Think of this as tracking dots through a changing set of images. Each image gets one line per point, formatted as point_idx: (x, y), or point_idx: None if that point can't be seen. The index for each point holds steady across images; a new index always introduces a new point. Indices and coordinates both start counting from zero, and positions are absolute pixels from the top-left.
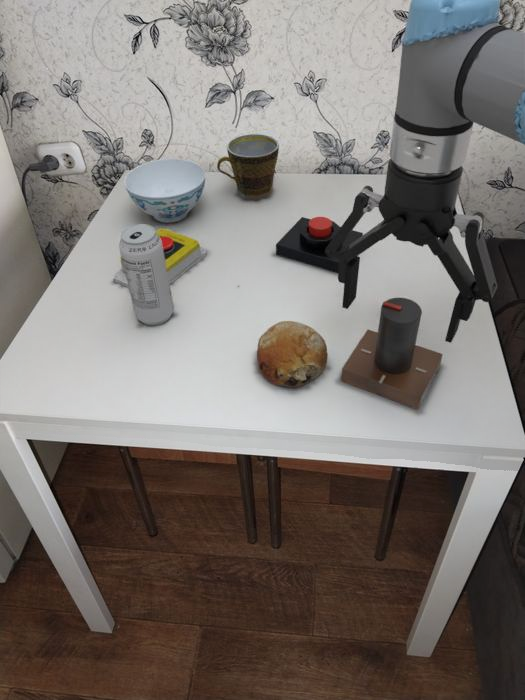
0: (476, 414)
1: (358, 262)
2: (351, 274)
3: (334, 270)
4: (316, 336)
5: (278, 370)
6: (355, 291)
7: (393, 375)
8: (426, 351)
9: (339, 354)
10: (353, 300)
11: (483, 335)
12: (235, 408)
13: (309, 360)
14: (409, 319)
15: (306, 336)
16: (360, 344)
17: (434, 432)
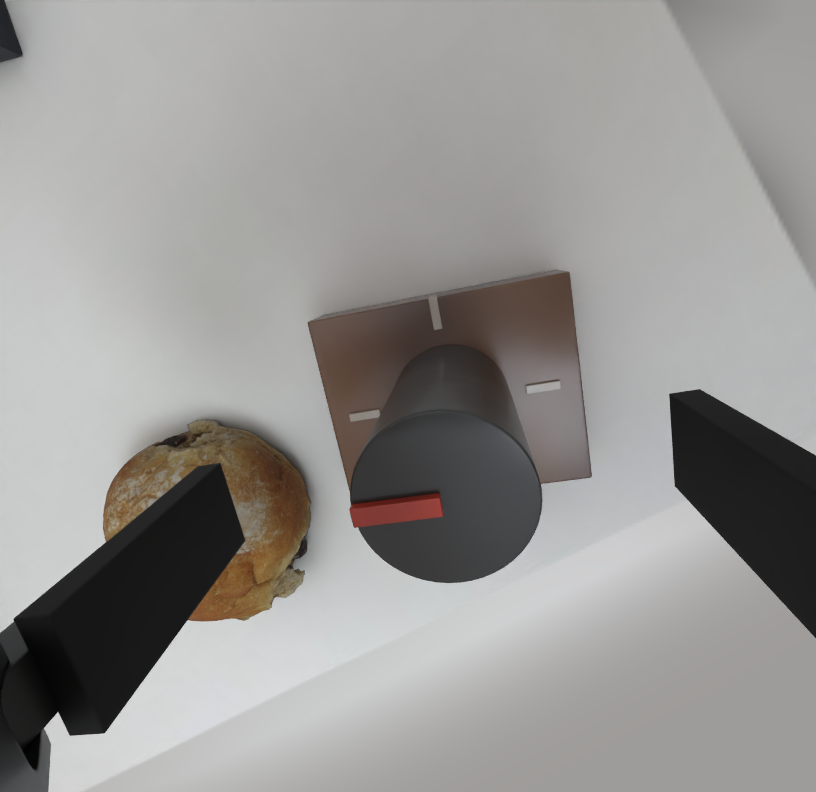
0: (726, 377)
1: (82, 611)
2: (135, 675)
3: (1, 57)
4: None
5: (239, 617)
6: (203, 492)
7: None
8: (518, 297)
9: (298, 405)
10: (226, 485)
11: (627, 7)
12: (241, 666)
13: (275, 567)
14: (509, 538)
15: None
16: (333, 397)
17: (646, 493)
